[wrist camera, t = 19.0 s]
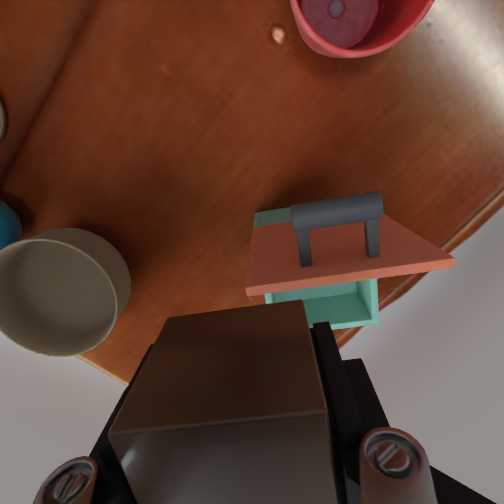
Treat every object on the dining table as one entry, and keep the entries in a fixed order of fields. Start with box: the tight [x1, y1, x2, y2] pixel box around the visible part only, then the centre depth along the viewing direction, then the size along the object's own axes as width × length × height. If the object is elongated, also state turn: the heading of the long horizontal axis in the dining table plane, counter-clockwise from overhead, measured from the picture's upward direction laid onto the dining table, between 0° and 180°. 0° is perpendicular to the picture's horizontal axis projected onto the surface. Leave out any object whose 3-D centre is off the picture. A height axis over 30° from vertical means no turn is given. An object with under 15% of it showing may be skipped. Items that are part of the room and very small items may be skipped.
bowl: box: [0, 228, 131, 357], centre depth 36 cm, size 13×13×10 cm
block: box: [108, 299, 340, 504], centre depth 9 cm, size 4×4×4 cm
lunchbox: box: [254, 207, 379, 330], centre depth 36 cm, size 12×11×7 cm
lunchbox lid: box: [245, 191, 455, 296], centre depth 24 cm, size 13×11×4 cm
